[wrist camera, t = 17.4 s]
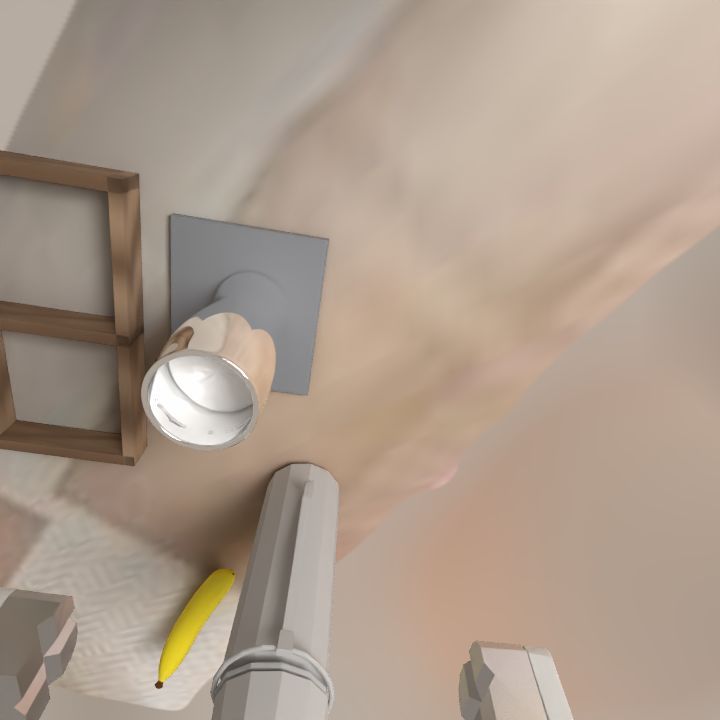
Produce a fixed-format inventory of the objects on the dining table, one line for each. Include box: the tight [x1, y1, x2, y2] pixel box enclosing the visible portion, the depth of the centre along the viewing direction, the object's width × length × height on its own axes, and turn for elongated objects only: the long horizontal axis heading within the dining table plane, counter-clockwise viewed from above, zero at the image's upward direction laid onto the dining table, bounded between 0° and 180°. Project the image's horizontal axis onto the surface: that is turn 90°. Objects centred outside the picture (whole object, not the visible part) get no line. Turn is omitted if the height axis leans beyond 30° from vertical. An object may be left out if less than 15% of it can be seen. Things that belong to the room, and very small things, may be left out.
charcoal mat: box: [171, 213, 329, 395], centre depth 42 cm, size 14×12×1 cm
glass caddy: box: [0, 150, 147, 466], centre depth 42 cm, size 25×13×3 cm, turn 171°
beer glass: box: [141, 272, 289, 451], centre depth 35 cm, size 7×7×15 cm
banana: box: [155, 569, 235, 689], centre depth 55 cm, size 3×19×6 cm, turn 149°
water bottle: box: [210, 463, 339, 720], centre depth 40 cm, size 9×8×25 cm
